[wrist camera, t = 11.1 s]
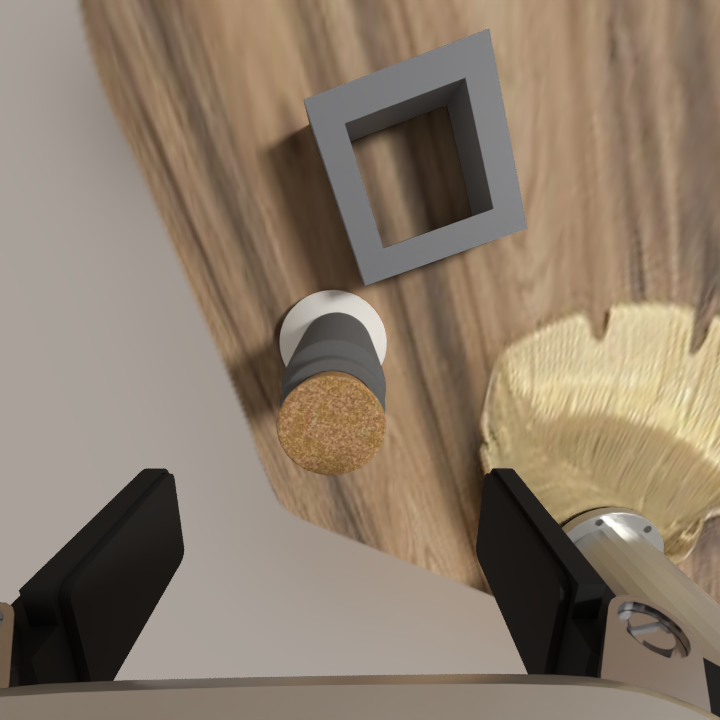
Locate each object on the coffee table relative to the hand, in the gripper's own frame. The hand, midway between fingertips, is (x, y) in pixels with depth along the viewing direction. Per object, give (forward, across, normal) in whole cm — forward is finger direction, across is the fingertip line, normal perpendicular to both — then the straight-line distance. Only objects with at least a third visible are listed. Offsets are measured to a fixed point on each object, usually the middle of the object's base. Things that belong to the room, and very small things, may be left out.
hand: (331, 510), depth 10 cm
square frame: (+20, -5, -14) cm, 25 cm away
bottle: (+20, +1, -1) cm, 20 cm away
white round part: (+20, +1, -1) cm, 21 cm away
